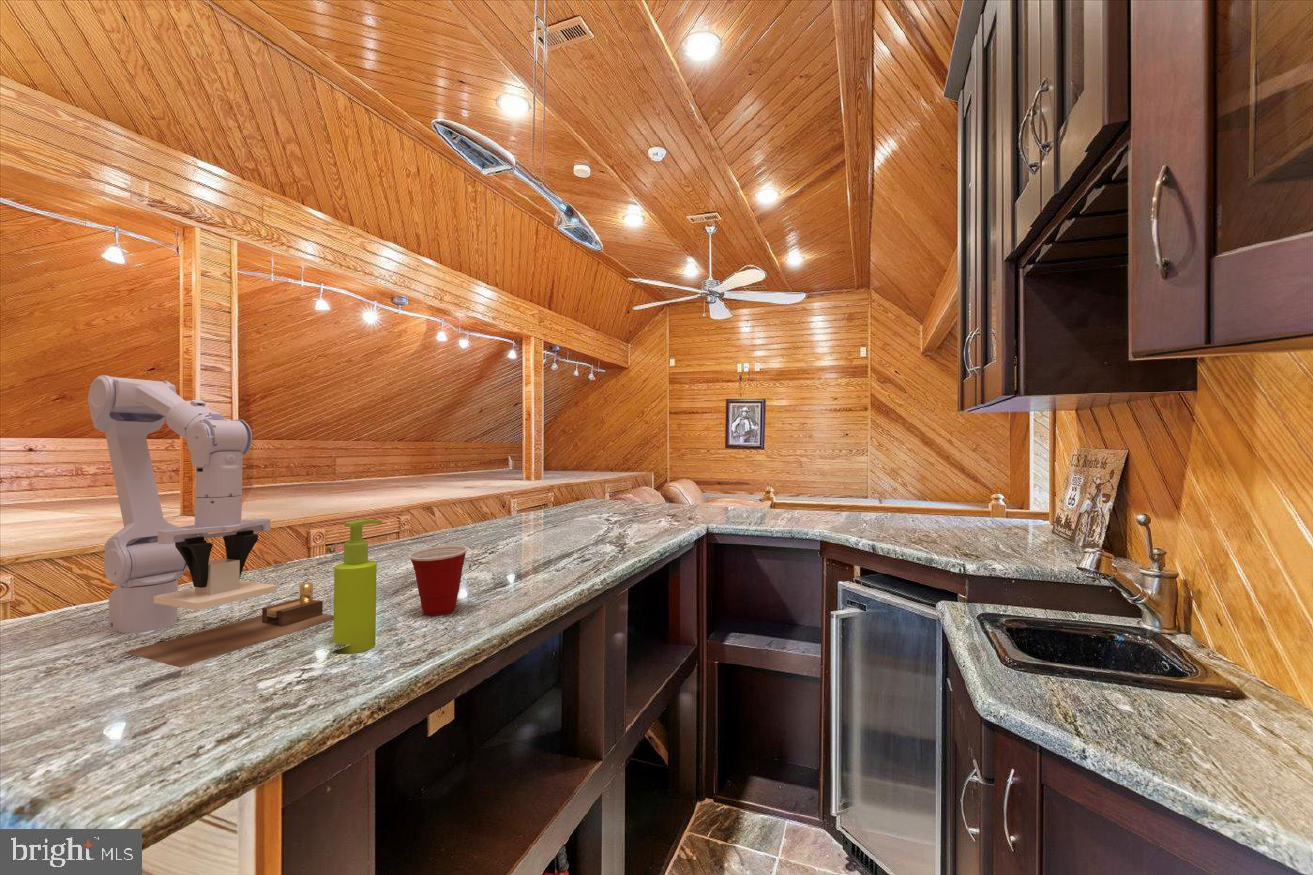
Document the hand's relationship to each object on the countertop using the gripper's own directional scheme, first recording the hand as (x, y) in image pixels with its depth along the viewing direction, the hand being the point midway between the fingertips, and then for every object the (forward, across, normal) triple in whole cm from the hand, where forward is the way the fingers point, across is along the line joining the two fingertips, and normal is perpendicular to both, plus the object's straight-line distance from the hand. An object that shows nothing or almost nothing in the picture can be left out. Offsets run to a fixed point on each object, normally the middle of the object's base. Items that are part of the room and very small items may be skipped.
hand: (217, 583), depth 85 cm
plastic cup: (+11, +29, -17) cm, 35 cm away
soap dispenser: (+11, +10, -19) cm, 24 cm away
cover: (+2, 0, 0) cm, 2 cm away
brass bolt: (+8, +12, 0) cm, 14 cm away
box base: (+10, +4, 0) cm, 11 cm away
